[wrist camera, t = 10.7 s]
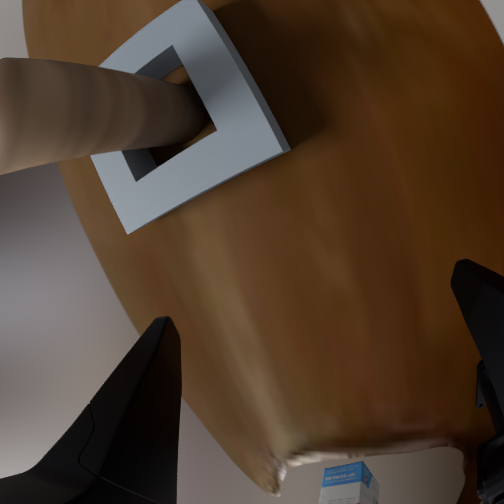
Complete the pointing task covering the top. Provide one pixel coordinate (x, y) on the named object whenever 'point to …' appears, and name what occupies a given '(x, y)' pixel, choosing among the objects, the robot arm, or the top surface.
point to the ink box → (349, 485)
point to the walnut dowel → (87, 112)
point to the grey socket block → (216, 102)
